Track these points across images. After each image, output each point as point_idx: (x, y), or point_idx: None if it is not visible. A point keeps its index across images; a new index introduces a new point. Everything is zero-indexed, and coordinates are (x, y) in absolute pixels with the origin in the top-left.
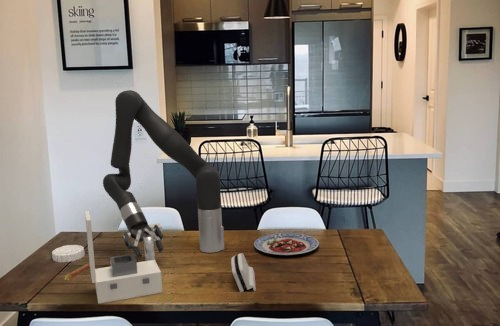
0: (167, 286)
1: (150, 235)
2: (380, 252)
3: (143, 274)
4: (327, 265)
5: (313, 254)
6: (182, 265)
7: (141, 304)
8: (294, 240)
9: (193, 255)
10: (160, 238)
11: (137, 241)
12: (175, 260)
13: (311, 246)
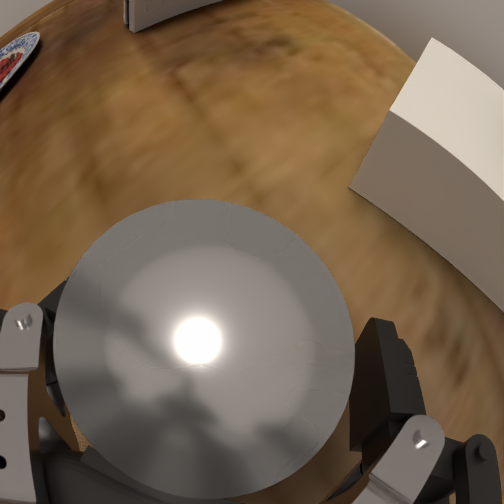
0: (361, 104)
1: (80, 370)
2: (29, 17)
3: (493, 82)
4: (75, 5)
5: None
6: (121, 195)
7: None
8: None
9: (10, 246)
10: (2, 320)
11: (379, 486)
12: None
13: (2, 53)
